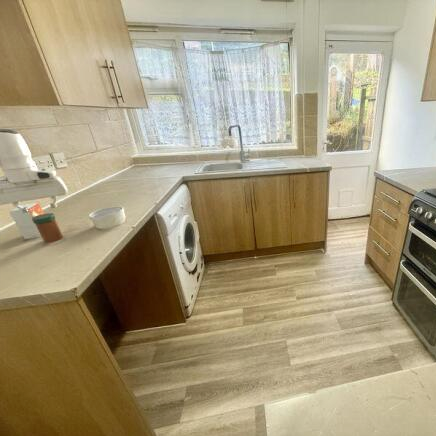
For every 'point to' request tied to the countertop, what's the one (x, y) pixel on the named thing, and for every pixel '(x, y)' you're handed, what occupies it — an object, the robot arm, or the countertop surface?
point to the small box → (27, 220)
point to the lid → (43, 218)
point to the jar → (49, 231)
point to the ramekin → (108, 217)
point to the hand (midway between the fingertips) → (40, 209)
